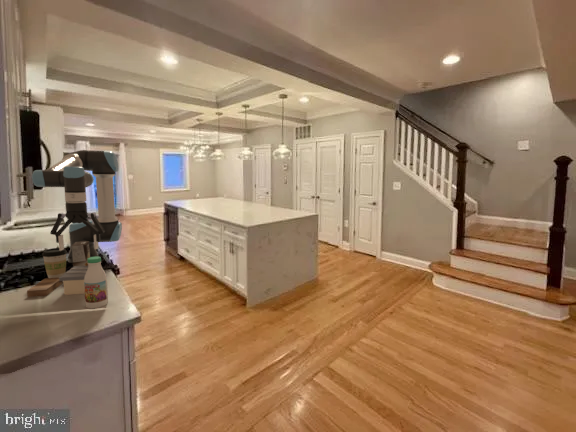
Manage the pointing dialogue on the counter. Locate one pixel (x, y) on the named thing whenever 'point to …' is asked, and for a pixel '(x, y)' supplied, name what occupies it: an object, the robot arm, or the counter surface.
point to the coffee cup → (55, 262)
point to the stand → (44, 287)
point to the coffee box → (80, 253)
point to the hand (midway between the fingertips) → (79, 249)
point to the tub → (74, 287)
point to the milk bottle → (95, 284)
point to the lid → (74, 273)
